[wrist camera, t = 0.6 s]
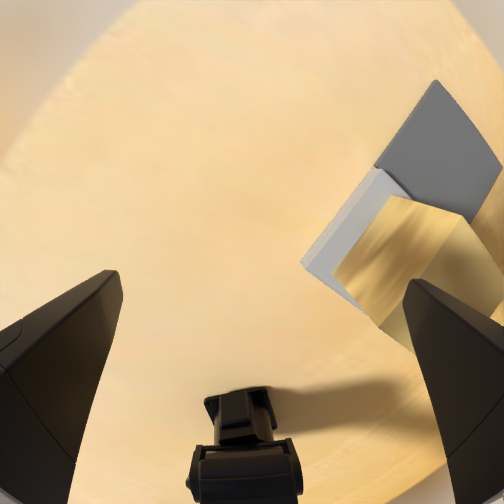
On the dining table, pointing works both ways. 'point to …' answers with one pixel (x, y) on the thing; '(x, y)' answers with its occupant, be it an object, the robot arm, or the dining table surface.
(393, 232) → the ochre block
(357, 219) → the block
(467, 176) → the rubber pad
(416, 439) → the dining table surface
